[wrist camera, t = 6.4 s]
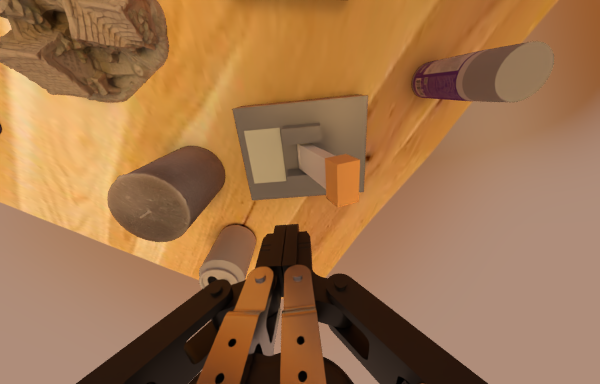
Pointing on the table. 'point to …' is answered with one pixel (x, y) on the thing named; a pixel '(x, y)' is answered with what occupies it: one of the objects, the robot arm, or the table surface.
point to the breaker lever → (331, 173)
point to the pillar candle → (166, 193)
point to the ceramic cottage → (85, 45)
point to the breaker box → (298, 141)
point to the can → (228, 256)
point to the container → (487, 74)
